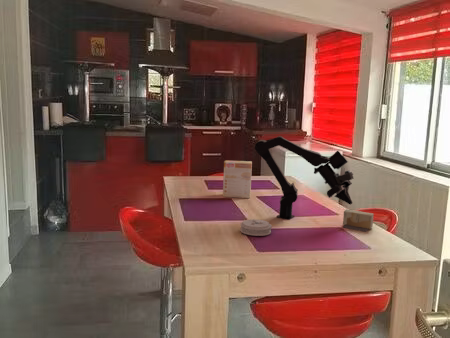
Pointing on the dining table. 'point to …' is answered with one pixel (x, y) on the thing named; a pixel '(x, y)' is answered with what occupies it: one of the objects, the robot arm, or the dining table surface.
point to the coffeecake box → (237, 179)
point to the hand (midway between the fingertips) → (351, 203)
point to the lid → (255, 227)
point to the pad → (356, 228)
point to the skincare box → (358, 218)
